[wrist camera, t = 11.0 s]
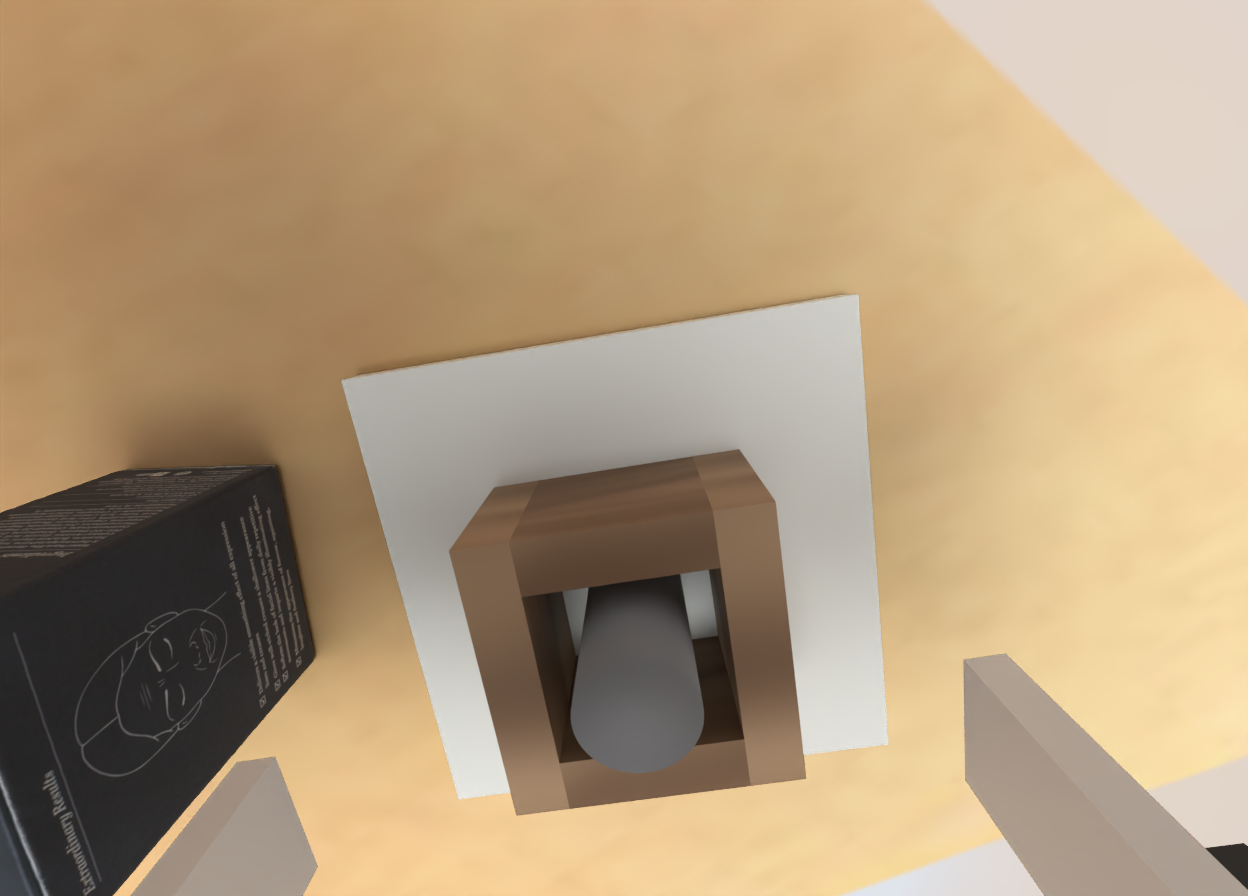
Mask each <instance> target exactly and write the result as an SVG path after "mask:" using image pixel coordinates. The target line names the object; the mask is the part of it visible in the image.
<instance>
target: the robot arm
mask: <svg viewBox="0 0 1248 896" xmlns="http://www.w3.org/2000/svg"><path fill="white" fill-rule="evenodd" d="M964 725H965V780H966V782H967V783H968V785H969V786H970V788H971V789H972V791H973V792H974V794H975V795H976V796H977V798H978V799H979V801H980V802H981V804H982V805H983V807H984V808H985V810H986V811H987V813H988V814H989V815H990V817H991V818H992V820H993V821H994V823H995V824H996V826H997V827H998V829H999V830H1000V832H1001V833H1002V835H1003V836H1004V837H1005V839H1006V840H1007V842H1008V843H1009V845H1010V846H1011V848H1012V849H1013V850H1014V852H1015V854H1016V855H1017V856H1018V858H1019V859H1020V861H1021V862H1022V864H1023V865H1024V867H1025V868H1026V870H1027V871H1028V873H1029V874H1030V875H1031V877H1032V878H1033V880H1034V881H1035V883H1036V884H1037V885H1038V887H1039V889H1040V890H1041V891H1042V893H1043V894H1044V896H1248V846H1247V845H1245V844H1244V843H1242V844H1234V845H1226V846H1218V847H1210V848H1204V847H1203V846H1202V845H1201V844H1200V843H1199V842H1198V841H1197V840H1196V839H1195V838H1194V837H1193V836H1192V835H1191V834H1190V833H1189V832H1188V831H1187V830H1186V829H1185V828H1184V827H1183V826H1182V825H1181V824H1180V823H1179V822H1178V821H1176V819H1174V817H1173V816H1171V814H1169V813H1168V812H1167V811H1166V810H1165V809H1164V808H1163V807H1162V806H1161V805H1160V804H1159V803H1158V802H1157V801H1156V800H1155V799H1154V798H1153V797H1152V796H1151V795H1150V794H1149V793H1148V792H1147V791H1146V790H1145V789H1144V788H1143V787H1142V786H1141V785H1140V784H1139V783H1138V782H1137V781H1136V780H1135V779H1134V778H1133V777H1132V776H1131V775H1130V774H1129V773H1128V772H1127V771H1125V770H1124V769H1123V768H1122V767H1121V766H1120V765H1119V764H1118V763H1117V762H1116V761H1115V760H1114V759H1113V758H1112V757H1111V756H1110V755H1109V754H1108V753H1107V752H1106V751H1105V750H1104V749H1103V748H1102V747H1101V746H1100V745H1099V744H1098V743H1097V742H1096V741H1095V740H1094V739H1093V738H1092V737H1091V736H1090V735H1089V734H1088V733H1087V732H1086V731H1085V730H1084V729H1083V728H1081V727H1080V726H1079V725H1078V724H1077V723H1076V722H1075V721H1074V720H1073V719H1072V718H1071V717H1070V716H1069V715H1068V714H1067V713H1066V712H1065V711H1064V710H1063V709H1062V708H1061V707H1060V706H1059V705H1058V704H1057V703H1056V702H1055V701H1054V700H1053V699H1052V698H1051V697H1050V696H1049V695H1048V694H1047V693H1046V692H1045V691H1044V690H1043V689H1042V688H1041V687H1040V686H1039V685H1038V684H1036V683H1035V682H1034V681H1033V680H1032V679H1031V678H1030V677H1029V676H1028V675H1027V674H1026V673H1025V672H1024V671H1023V670H1022V669H1021V668H1020V667H1019V666H1018V665H1017V664H1016V663H1015V662H1014V661H1013V660H1012V659H1011V658H1010V657H1009V656H1008V655H1007V654H999V655H992V656H985V657H978V658H971V659H964ZM317 867H318V866H317V863H316V860H315V858H314V855H313V853H312V850H311V848H310V845H309V843H308V840H307V837H306V835H305V832H304V830H303V827H302V825H301V822H300V819H299V817H298V814H297V812H296V809H295V807H294V804H293V801H292V799H291V796H290V794H289V791H288V789H287V786H286V783H285V781H284V778H283V776H282V773H281V771H280V768H279V765H278V763H277V760H276V758H275V757H270V758H263V759H256V760H249V761H242V762H237V763H236V764H235V765H234V767H233V768H232V769H231V770H230V772H229V773H228V774H227V775H226V777H225V778H224V779H223V780H222V782H221V783H220V784H219V785H218V787H217V788H216V789H215V790H214V792H213V793H212V794H211V795H210V797H209V798H208V799H207V800H206V802H205V803H204V804H203V805H202V807H201V808H200V809H199V810H198V812H197V813H196V814H195V815H194V817H193V818H192V819H191V820H190V822H189V823H188V824H187V825H186V827H185V828H184V829H183V831H182V832H181V833H180V834H179V836H178V837H177V838H176V839H175V841H174V842H173V843H172V844H171V846H170V847H169V848H168V849H167V851H166V852H165V853H164V854H163V856H162V857H161V858H160V859H159V861H158V862H157V863H156V864H155V866H154V867H153V868H152V869H151V871H150V872H149V873H148V874H147V876H146V877H145V878H144V879H143V881H142V882H141V883H140V884H139V886H138V887H137V888H136V889H135V891H134V892H133V893H132V894H131V896H303V894H304V892H305V890H306V888H307V886H308V884H309V882H310V880H311V878H312V877H313V875H314V873H315V871H316V869H317Z"/></svg>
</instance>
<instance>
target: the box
mask: <svg viewBox="0 0 1248 896" xmlns="http://www.w3.org/2000/svg"><path fill="white" fill-rule="evenodd" d="M313 660H314V651H313V646H312V641H311V637H310V632H309V627H308V622H307V617H306V612H305V606H304V601H303V597H302V592H301V587H300V582H299V578H298V572H297V567H296V562H295V557H294V552H293V547H292V542H291V537H290V532H289V527H288V523H287V517H286V512H285V508H284V503H283V498H282V492H281V487H280V482H279V478H278V473H277V468H276V466H275V465H256V466H216V467H187V468H165V469H129V470H123V471H118V472H114V473H111V474H108V475H106V476H103V477H100V478H98V479H95V480H92V481H89V482H86V483H83V484H81V485H78V486H75V487H72V488H69V489H67V490H64V491H60V492H57V493H54V494H52V495H49V496H46V497H44V498H41V499H37V500H34V501H31V502H29V503H26V504H24V505H21V506H18V507H16V508H13V509H10V510H6V511H4V512H2V513H0V896H113V895H114V894H115V892H116V891H117V890H118V889H119V888H120V887H121V885H122V884H123V883H124V882H125V881H126V880H127V879H128V877H129V876H130V875H131V874H132V873H133V872H134V871H135V869H136V868H137V867H138V866H139V864H140V863H141V862H142V861H143V859H144V858H145V857H146V856H147V855H148V853H149V852H150V851H151V850H152V849H153V848H154V846H155V845H156V844H157V843H158V842H159V841H160V839H161V838H162V837H163V836H164V835H165V834H166V832H167V831H168V830H169V829H170V828H171V826H172V825H173V824H174V823H175V822H176V821H177V819H178V818H179V817H180V816H181V815H182V813H183V812H184V811H185V810H186V809H187V807H188V806H189V805H190V804H191V803H192V802H193V800H194V799H195V798H196V797H197V796H198V795H199V794H200V793H201V791H202V790H203V789H204V788H205V787H206V785H207V784H208V783H209V782H210V781H211V780H212V779H213V778H214V776H215V775H216V774H217V773H218V772H219V771H220V769H221V768H222V767H223V766H224V765H225V763H226V762H227V761H228V760H229V759H230V757H231V756H232V755H233V754H234V753H235V752H236V750H237V749H238V748H239V747H240V746H241V745H242V743H243V742H244V741H245V740H246V739H247V737H248V736H249V735H250V734H251V733H252V731H253V730H254V729H255V728H256V727H257V726H258V725H259V723H260V722H261V721H262V720H263V719H264V718H265V716H266V715H267V714H268V713H269V712H270V711H271V710H272V708H273V707H274V706H275V705H276V704H277V703H278V702H279V700H280V699H281V698H282V697H283V695H284V694H285V693H286V692H287V691H288V690H289V688H290V687H291V686H292V685H293V684H294V683H295V681H296V680H297V679H298V678H299V677H300V676H301V674H302V673H303V672H304V671H305V670H306V669H307V668H308V666H309V665H310V664H311V663H312V662H313Z"/></svg>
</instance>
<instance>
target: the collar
mask: <svg viewBox="0 0 1248 896" xmlns="http://www.w3.org/2000/svg"><path fill="white" fill-rule="evenodd" d="M449 554H450V558H451V562H452V566H453V569H454V573H455V577H456V581H457V585H458V589H459V593H460V597H461V601H462V605H463V609H464V612H465V616H466V620H467V624H468V628H469V632H470V636H471V640H472V644H473V648H474V651H475V655H476V659H477V663H478V667H479V671H480V675H481V679H482V683H483V687H484V691H485V694H486V698H487V702H488V706H489V710H490V714H491V718H492V722H493V726H494V730H495V734H496V737H497V741H498V745H499V749H500V753H501V757H502V761H503V765H504V769H505V773H506V776H507V780H508V784H509V788H510V792H511V796H512V800H513V804H514V808H515V812H516V816H517V815H525V814H533V813H540V812H548V811H556V810H564V809H572V808H580V807H588V806H596V805H603V804H611V803H619V802H627V801H635V800H643V799H651V798H658V797H666V796H674V795H682V794H690V793H698V792H706V791H714V790H721V789H729V788H737V787H745V786H753V785H761V784H769V783H776V782H784V781H792V780H800V779H806V772H805V763H804V754H803V745H802V736H801V727H800V718H799V709H798V699H797V690H796V681H795V672H794V663H793V654H792V645H791V636H790V627H789V618H788V609H787V600H786V590H785V581H784V572H783V563H782V554H781V545H780V536H779V527H778V518H777V509H776V501H775V500H774V498H773V497H772V496H771V494H770V493H769V491H768V490H767V488H766V487H765V485H764V484H763V483H762V481H761V480H760V478H759V477H758V475H757V474H756V472H755V471H754V470H753V468H752V467H751V465H750V464H749V462H748V461H747V459H746V458H745V457H744V455H743V454H742V452H741V451H740V449H737V450H730V451H724V452H718V453H711V454H705V455H698V456H692V457H686V458H679V459H673V460H666V461H660V462H654V463H647V464H641V465H634V466H628V467H622V468H615V469H609V470H602V471H596V472H590V473H583V474H577V475H570V476H564V477H558V478H551V479H545V480H538V481H532V482H526V483H519V484H513V485H506V486H500V487H494V488H493V489H492V491H491V492H490V494H489V495H488V496H487V498H486V499H485V501H484V502H483V504H482V505H481V506H480V508H479V509H478V511H477V512H476V513H475V515H474V516H473V518H472V519H471V520H470V522H469V523H468V525H467V526H466V527H465V529H464V530H463V532H462V533H461V535H460V536H459V537H458V539H457V540H456V542H455V543H454V544H453V546H452V547H451V549H450V550H449ZM704 570H709V575H710V582H711V589H712V596H713V603H714V610H715V617H716V624H717V631H718V636H713V637H706V638H699V639H692V644H693V650H694V656H695V661H696V667H697V673H698V679H699V684H700V690H701V696H702V702H703V707H704V724H703V729H702V732H701V735H700V737H699V739H698V741H697V743H696V744H695V746H694V747H693V748H692V750H691V751H690V752H689V753H688V754H687V755H686V756H685V757H683V758H682V759H681V760H679V761H678V762H676V763H675V764H673V765H671V766H669V767H666V768H664V769H661V770H658V771H653V772H648V773H628V772H622V771H618V770H614V769H611V768H609V767H606V766H604V765H603V764H601V763H599V762H597V761H596V760H594V759H593V758H592V757H591V756H589V755H588V754H587V753H586V752H585V751H584V749H583V748H582V747H581V746H580V744H579V743H578V741H577V739H576V737H575V735H574V732H573V729H572V725H571V706H572V699H573V692H574V685H575V678H576V671H577V664H578V657H579V655H578V656H576V654H575V649H574V644H573V640H572V635H571V630H570V625H569V620H568V616H567V611H566V606H565V601H564V597H563V592H562V591H567V590H574V589H581V588H588V587H595V586H602V585H608V584H615V583H622V582H629V581H636V580H643V579H649V578H656V577H663V576H670V575H677V574H684V573H691V572H697V571H704Z"/></svg>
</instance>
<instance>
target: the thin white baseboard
mask: <svg viewBox="0 0 1248 896" xmlns="http://www.w3.org/2000/svg"><path fill="white" fill-rule="evenodd" d="M341 382H342V386H343V389H344V393H345V396H346V400H347V403H348V407H349V411H350V414H351V418H352V421H353V425H354V428H355V432H356V435H357V439H358V443H359V446H360V450H361V453H362V457H363V460H364V464H365V468H366V471H367V475H368V478H369V482H370V485H371V489H372V492H373V496H374V500H375V503H376V507H377V510H378V514H379V517H380V521H381V525H382V528H383V532H384V535H385V539H386V542H387V546H388V549H389V553H390V557H391V560H392V564H393V567H394V571H395V574H396V578H397V582H398V585H399V589H400V592H401V596H402V599H403V603H404V606H405V610H406V614H407V617H408V621H409V624H410V628H411V631H412V635H413V639H414V642H415V646H416V649H417V653H418V656H419V660H420V663H421V667H422V671H423V674H424V678H425V681H426V685H427V688H428V692H429V696H430V699H431V703H432V706H433V710H434V713H435V717H436V720H437V724H438V728H439V731H440V735H441V738H442V742H443V745H444V749H445V753H446V756H447V760H448V763H449V767H450V770H451V774H452V777H453V781H454V785H455V788H456V792H457V795H458V799H465V798H473V797H480V796H488V795H496V794H504V793H511V792H510V788H509V784H508V780H507V776H506V773H505V769H504V765H503V761H502V757H501V753H500V749H499V745H498V741H497V737H496V734H495V730H494V726H493V722H492V718H491V714H490V710H489V706H488V702H487V698H486V694H485V691H484V687H483V683H482V679H481V675H480V671H479V667H478V663H477V659H476V655H475V651H474V648H473V644H472V640H471V636H470V632H469V628H468V624H467V620H466V616H465V612H464V609H463V605H462V601H461V597H460V593H459V589H458V585H457V581H456V577H455V573H454V569H453V566H452V562H451V558H450V554H449V550H450V549H451V547H452V546H453V544H454V543H455V542H456V540H457V539H458V537H459V536H460V535H461V533H462V532H463V530H464V529H465V527H466V526H467V525H468V523H469V522H470V520H471V519H472V518H473V516H474V515H475V513H476V512H477V511H478V509H479V508H480V506H481V505H482V504H483V502H484V501H485V499H486V498H487V496H488V495H489V494H490V492H491V491H492V489H493V488H494V487H500V486H506V485H513V484H519V483H526V482H532V481H538V480H545V479H551V478H558V477H564V476H570V475H577V474H583V473H590V472H596V471H602V470H609V469H615V468H622V467H628V466H634V465H641V464H647V463H654V462H660V461H666V460H673V459H679V458H686V457H692V456H698V455H705V454H711V453H718V452H724V451H730V450H737V449H740V451H741V452H742V454H743V455H744V457H745V458H746V459H747V461H748V462H749V464H750V465H751V467H752V468H753V470H754V471H755V472H756V474H757V475H758V477H759V478H760V480H761V481H762V483H763V484H764V485H765V487H766V488H767V490H768V491H769V493H770V494H771V496H772V497H773V498H774V500H775V501H776V509H777V518H778V527H779V536H780V545H781V554H782V563H783V572H784V581H785V590H786V600H787V609H788V618H789V627H790V636H791V645H792V654H793V663H794V672H795V681H796V690H797V699H798V709H799V718H800V727H801V736H802V745H803V754H804V755H809V754H816V753H824V752H832V751H840V750H848V749H855V748H863V747H871V746H879V745H887V744H888V730H887V715H886V700H885V685H884V670H883V655H882V640H881V625H880V610H879V595H878V581H877V566H876V551H875V536H874V521H873V506H872V491H871V476H870V461H869V446H868V431H867V417H866V402H865V387H864V372H863V357H862V342H861V327H860V312H859V297H858V294H843V295H837V296H831V297H825V298H819V299H813V300H807V301H801V302H795V303H789V304H783V305H777V306H771V307H765V308H759V309H753V310H747V311H741V312H735V313H729V314H723V315H717V316H711V317H705V318H699V319H693V320H687V321H681V322H675V323H669V324H663V325H657V326H651V327H645V328H639V329H633V330H627V331H621V332H615V333H609V334H603V335H597V336H591V337H585V338H579V339H573V340H567V341H561V342H555V343H549V344H543V345H537V346H531V347H525V348H519V349H513V350H507V351H501V352H495V353H489V354H483V355H477V356H471V357H465V358H459V359H453V360H447V361H441V362H435V363H429V364H423V365H417V366H411V367H405V368H399V369H393V370H387V371H381V372H375V373H369V374H363V375H357V376H354V377H351V378H347V379H344V380H341ZM562 592H563V597H564V601H565V606H566V611H567V616H568V620H569V625H570V630H571V635H572V640H573V644H574V649H575V654H576V656H578V655H579V657H578V664H577V671H576V678H575V685H574V692H573V699H572V706H571V725H572V729H573V732H574V735H575V737H576V739H577V741H578V743H579V744H580V746H581V747H582V748H583V749H584V751H585V752H586V753H587V754H588V755H589V756H591V757H592V758H593V759H594V760H596V761H597V762H599V763H601V764H603V765H604V766H606V767H609V768H611V769H614V770H618V771H622V772H628V773H648V772H653V771H658V770H661V769H664V768H666V767H669V766H671V765H673V764H675V763H676V762H678V761H679V760H681V759H682V758H683V757H685V756H686V755H687V754H688V753H689V752H690V751H691V750H692V748H693V747H694V746H695V744H696V743H697V741H698V739H699V737H700V735H701V732H702V729H703V724H704V707H703V702H702V696H701V690H700V684H699V679H698V673H697V667H696V661H695V656H694V650H693V644H692V639H699V638H706V637H713V636H718V631H717V624H716V617H715V610H714V603H713V596H712V589H711V582H710V575H709V570H704V571H697V572H691V573H684V574H677V575H670V576H663V577H656V578H649V579H643V580H636V581H629V582H622V583H615V584H608V585H602V586H595V587H588V588H581V589H574V590H567V591H562Z"/></svg>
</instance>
